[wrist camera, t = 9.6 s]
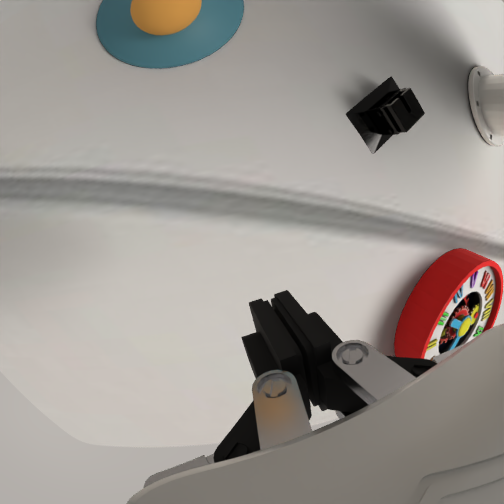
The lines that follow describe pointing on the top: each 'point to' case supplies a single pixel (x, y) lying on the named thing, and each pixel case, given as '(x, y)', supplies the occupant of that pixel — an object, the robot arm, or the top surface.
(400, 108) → the black boxy piece
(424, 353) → the toy clock
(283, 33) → the top surface
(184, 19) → the ball
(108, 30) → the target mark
